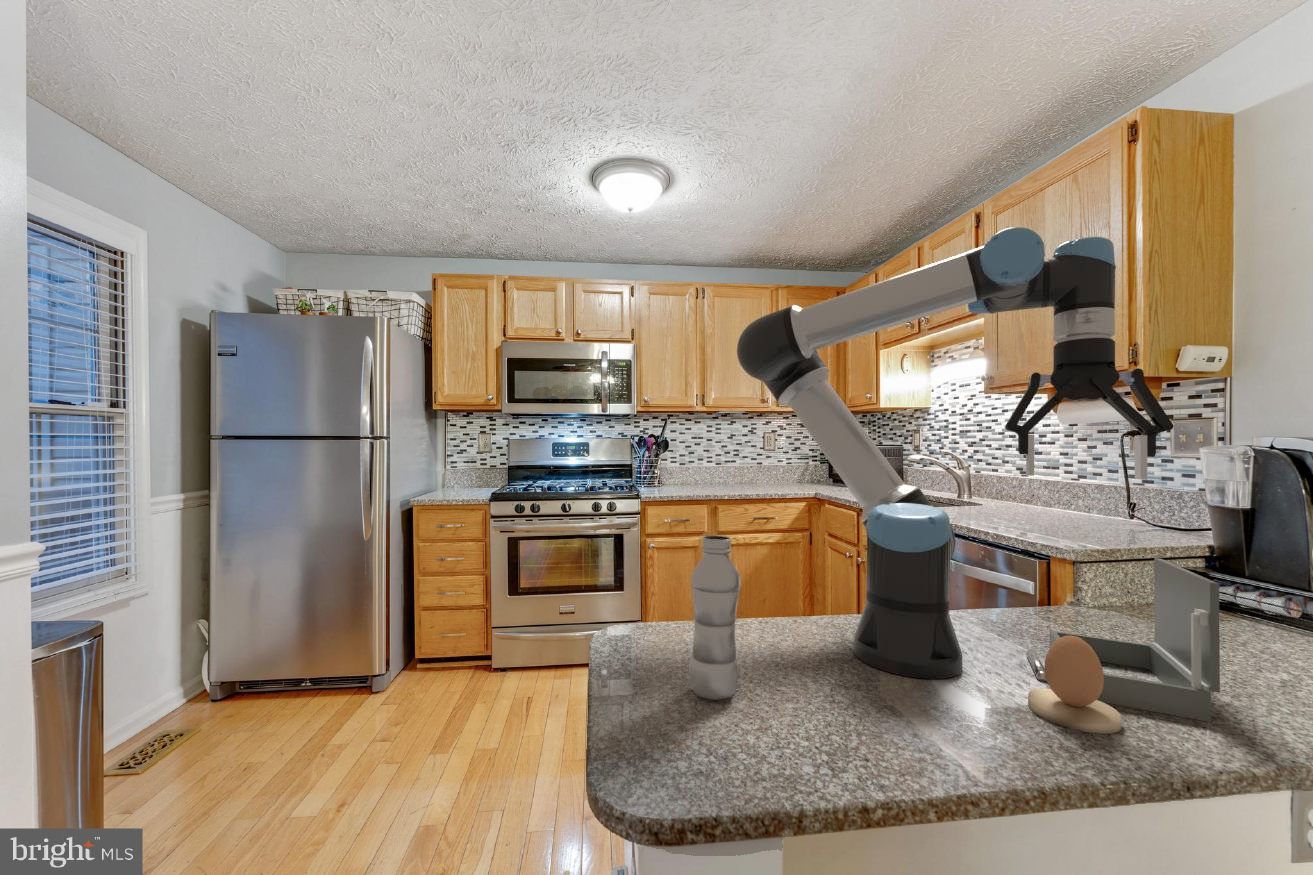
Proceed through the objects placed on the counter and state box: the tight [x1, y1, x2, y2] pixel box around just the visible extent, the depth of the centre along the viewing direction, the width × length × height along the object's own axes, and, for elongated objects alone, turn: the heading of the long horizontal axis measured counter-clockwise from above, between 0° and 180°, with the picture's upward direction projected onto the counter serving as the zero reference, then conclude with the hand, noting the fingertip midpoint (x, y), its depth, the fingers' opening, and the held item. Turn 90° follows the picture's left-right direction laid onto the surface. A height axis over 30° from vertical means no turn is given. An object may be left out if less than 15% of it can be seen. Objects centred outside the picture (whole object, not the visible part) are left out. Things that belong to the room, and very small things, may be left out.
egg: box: [1043, 635, 1104, 707], centre depth 66 cm, size 6×6×8 cm
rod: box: [1025, 649, 1047, 682], centre depth 80 cm, size 1×11×1 cm, turn 152°
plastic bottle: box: [688, 535, 741, 701], centre depth 69 cm, size 6×7×20 cm
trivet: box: [1027, 688, 1122, 735], centre depth 65 cm, size 9×9×1 cm
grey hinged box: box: [1049, 557, 1221, 723], centre depth 76 cm, size 14×19×17 cm
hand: (1083, 477), depth 83 cm, fingers open, 13 cm apart
